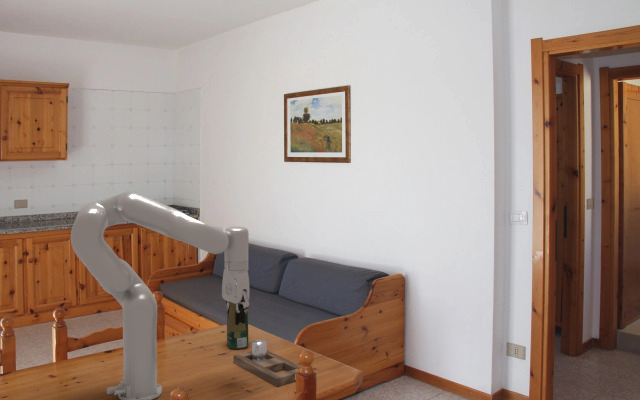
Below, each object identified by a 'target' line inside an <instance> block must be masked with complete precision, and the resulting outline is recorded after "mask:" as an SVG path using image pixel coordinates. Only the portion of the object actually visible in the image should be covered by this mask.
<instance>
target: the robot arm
mask: <svg viewBox="0 0 640 400" xmlns="http://www.w3.org/2000/svg"><path fill="white" fill-rule="evenodd" d="M126 221H128V222H131V223H133V224H134V225H138V226H140V227H143V228H146V229H149V230H150V231H154V232H156V233H158V234H161V235H163V236H166V237H168V238H171V239H174V240H176V241H179V242H183V244H184V243H185V244H187V245H189V246H193V247H194V248H196V249H199V250H202V251H204V252H207V253H210V254H213V255H218V254H220V255H221V254H222V253H224V269H223V274H222V282H221V283H222V284H221V297H222V299H223V300H225V303H226V310H227V309H228V316H229V309H230V305H229V303H228V301H229V302H231V303H234V304H236V311H237V312H235V324H236V325H238V324H239V323H242V324H244V323H245V311H246V308H247V307H248V308H249V306H250V302H249V300H250V277H249V272H248V271H249V235H250V234H249V230H248V228H247V227H244V226H229V227H219V226H211V225H209V224H207V223H205V222H202V221H200V220H198V219H195V218H193V217H191V216H189V215H187V214H186V213H184V212H182V211H181V210H178V209H176V208H175V207H171V206H169V205H166V204H165V203H163V202H160V201H157V200H155V199H152V198H150V197H148V196H145V195H143V194H140V193H138V192H136V191H131V190H130V191H129V190H128V191H124V192H122V193H119V194H117V195H113V196H109V197H105V198H104V199H101V200H96V201H94V202H91V203H87V204H86V205H84V206H82V207H81V208H80V209H79V210H78V212H77V215H76V217H75V220H74V221H73V223H72V227H71V231H70V242H71V247H72V250H73V252H74V255H76V256H77V258H78V259H79V260H80V262H81V263H82V264H83V265H84V267H85V268H86V269H87V270H88V272H89V273H90V275H92V277H94V279H95V281H97V283H98V284H99V285H100V287H101V288H102V290H103V291H104V292H106V293H108V294H110V295H111V296H112V297H113V298H114V299H115V301H116V302H117V303H119V305H120V306H121V309H122V346H123V347H122V349H123V352H122V354H123V361H122V362H123V379H121V380H120V383H119V384H117V385H115V386H111V387H110V386H109V387H107V388H106V394H107V395H112V394H114V396H117V397H118V399H119V400H155V399H156V398H158V397H160V396H161V395H162V394H163V387H162V386H161V385H160V384H158V372H157V371H158V366H157V365H158V364H157V363H158V360H157V359H158V358H157V356H158V354H157V353H158V352H157V349H158V348H157V346H158V345H157V324H158V304H157V300H156V298H155V296H154V295H153V292H152V290H150V288H149V287H148V286H147V285H146V283H145V282H144V281H143V280H142V278H141V277H140V276H139V275H138V274H137V273H136V271H135V270H134V269H133V267H132V266H131V265H130V264H129V263H128V262H127V261H125V260H124V259H121V258H119V255H117V254H116V253H115V251H114V250H113V248H111V246H110V245H109V244H108V242H106V240H105V237H104V233H105V231H106V229H107V228H110V227H112V226H115V225H117V224H121V223H123V222H126ZM241 300H243V302H240V301H241ZM239 304H242V305H241V306H240V307H239Z"/></svg>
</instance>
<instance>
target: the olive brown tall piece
mask: <svg viewBox="0 0 640 400" xmlns="http://www.w3.org/2000/svg"><path fill="white" fill-rule="evenodd" d="M240 302H243V300H241V301H240ZM228 303H229V305H230V309H229V316H228V323H227V322H226V331H227V330H228V331H230V332H240V331H244V330H245V329H246V327H245V323H244V324H242V323H239V324H238V325H236V324H235V312H237V311H236V304H234V303H231V302H229V301H228ZM241 305H242V304H239V307H240V306H241Z"/></svg>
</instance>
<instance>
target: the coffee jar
mask: <svg viewBox="0 0 640 400" xmlns="http://www.w3.org/2000/svg"><path fill="white" fill-rule="evenodd" d="M227 323H228V309H227V308H226V324H227ZM245 327H246V329H245V330H244V331H240V332H230V331H228V330H227V329H226V345H227V346H228V347H229V348H230V349H231V350H232V349H233V350H234V349H235V350H242V349H244V348H245V349H246V348H248V347H249V306H248V307H247V308H246V311H245Z"/></svg>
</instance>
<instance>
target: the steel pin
mask: <svg viewBox="0 0 640 400" xmlns="http://www.w3.org/2000/svg"><path fill="white" fill-rule="evenodd" d="M267 345H268V344H267V340H265V339H262V338H260V339H253V340H252V341H251V351H252V361H254V362H260V361H264V360H266V350H267Z"/></svg>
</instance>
